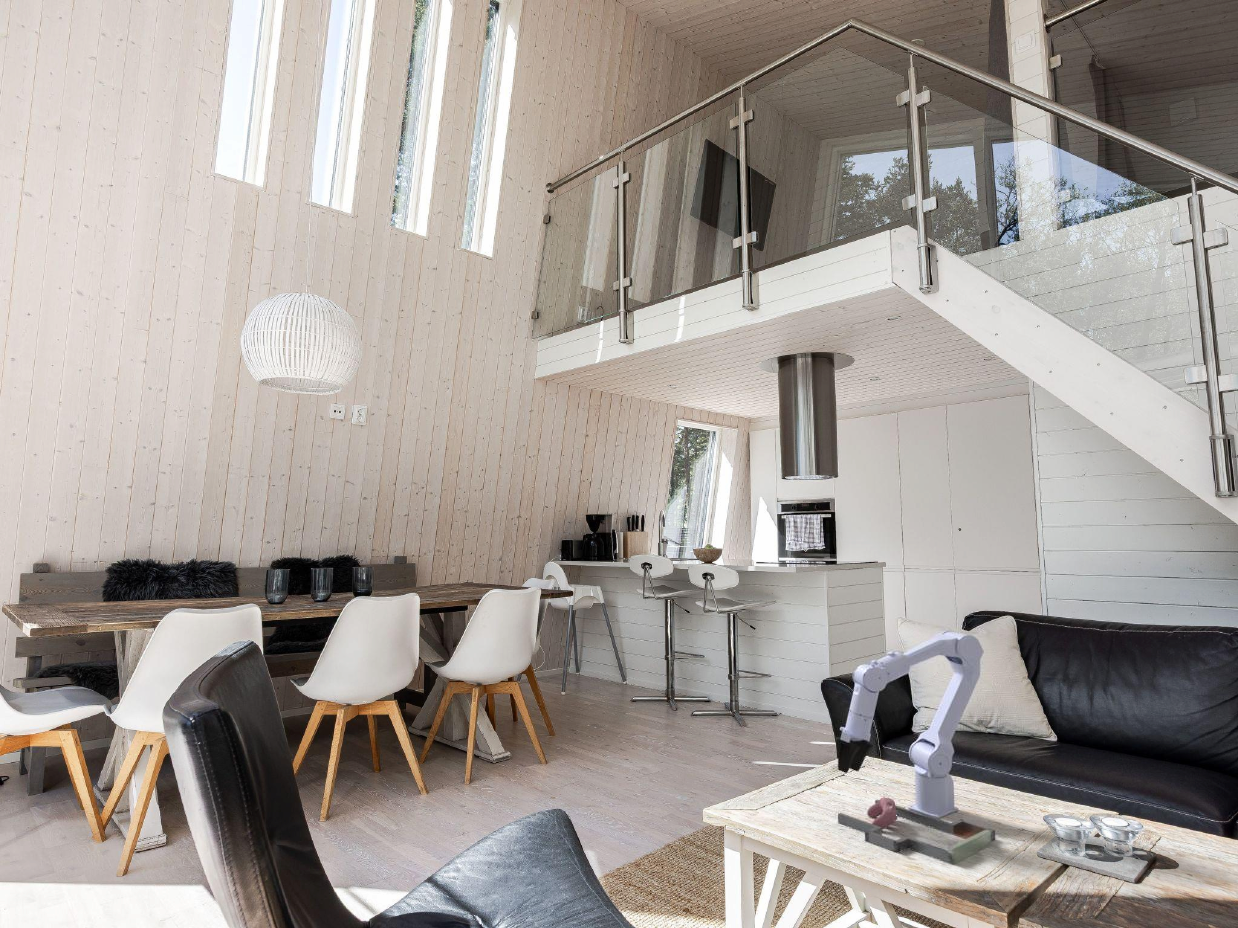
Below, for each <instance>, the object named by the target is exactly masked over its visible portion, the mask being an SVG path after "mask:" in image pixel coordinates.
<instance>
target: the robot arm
mask: <svg viewBox="0 0 1238 928" xmlns="http://www.w3.org/2000/svg"><path fill="white" fill-rule="evenodd" d="M886 654H887V655H886V656H884V657H882V658H879V659H878V660H876V659H873V660H871V661H870V664H861V665H859V666H857V668H856V669H855V670H854V671H853V672H852V681H853V682H854V687H853V692H852V696H851V701H850V705H849V711H848V714H847V719H846V723H845V727H844V726H840V728H839V730H840V731H841V736H840V737H835V744H836V750H837V770H838V771H840V772H842V773H845V774H848V772H849V770H853V771H855V772H859V771H860V769H861V767H862V765H863V763H864V761H865V759H866V757H867V755H868V754H869V753H870V751H871V750H872V749H873V748H874V744H873V743H870V739H871V735H872V734H871V731H872V730H871V729H872V725H873V719H874V716H875V710H876V707H877V703H878V697H879V695H880V694H879V693H880V692H881V691H882V692H883V690H884V689H885V688H886V686H887V684H889V683H890V682H893V681H895V680H897V679H899V678H900V677H903V676H905V675H908V674H909V672H910V670H911V667H913V666H915V665H918V664H920V663H923V662H925V661H927V660H930V659H932V658H935V657H937V656H944V657H945V658H946V660H947V661H948V663H950V665H951V668H952V671H953V675H952V677H951V679H950V682H949V683H948V686H947V688H946V690H945V693H944V695H943V697H942V699H941V701H940V704H939V706H938V707H937V710H936V713H935V714H934V717H933V719H932V721H931V724H930V726H929V728H927V730H925V731H922V732H921V733H920V734H919V735H918V738H917V739H916V741H915V740H914V742H912V744H911V745H910V747H909V750H908V756H909V759H910V761H911V762H912V764H913V767H914V768H913V769H914V787H915V788H914V789H915V790H914V791H915V792H914V793H915V795H914V796H915V803H914V804H912V805H909V806H907V807H908V809H909V810H912V811H915V812H918V813H921V814H924V815H927V816H930V817H934V818H937V819H940V818H942V817H945V816H947V815H949V814H951V813H954V812H956V811H958V810H959V808H958V807H956V806H955V788H954V787H955V785H954V780H953V777H952V776H951V774H950V771H951V770H952V765H953V756H954V754H955V749H954V746H953V743H952V739H953V737H954V735H955V732H956V731H957V728H958V726H959V724H960V721H961V720H962V717H963V715H964V712H965V710H966V708H967V706H968V704H969V701H970V699H971V698H972V695H973V693H974V690H975V688H976V685H977V684H978V681H979V680H980V676H981V658H982V657H983V654H984V649H983V647H982V645H981V643H980V641H979V639H978V638H977V637H975V635H971V634H965V633H960V632H956V631H953V630H950V629H949V630H944V631H942V632H941V633H937V634H935V635H934V636H932V638H930V639H928V640H926V641H924V642H923V643H921V644H919V645H917V646H915V647H913V648H911V649H910V650H908V651H906V652H904V653H901V652H899V651H892V650H891V651H889V652H887V653H886Z"/></svg>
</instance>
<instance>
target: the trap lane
mask: <svg viewBox="0 0 1238 928" xmlns="http://www.w3.org/2000/svg"><path fill="white" fill-rule="evenodd" d="M879 800H880V799H875V800H874V802H875V803H874V804H876V803H877V802H878V801H879ZM895 807H896V808H895V809H896V810H897V816H898V817H899V818H901V817H902V819H904V818H906V819H905V820H908V821H910V820H911V821H912V822H914V821H915V822H914V823H917V824H920V823H921V824H920V825H923V824H924V825H923V826H926V827H929V826H930V827H929V828H932V827H933V829H935V830H938V831H941V830H942V832H944V833H947V832H948V833H947V834H950V833H951V835H953V836H955V837H956V836H957V837H959V838H962V839H963V840H960V841H959V842H957V843H955V844H952V845H950V846H948V847H947V849H945V848H942V847H938V846H936V845H933V844H930V843H927V842H925V841H922V840H919V839H916V838H913V837H910V836H908V835H906V836H903V837H900V838H899V839H893V838H890V837H887V836H885V835H883V830H882V827H879V826H876V825H873V824H872V822H867V821H866V820H865V821H864V820H861V819H859V818H856V817H854V816H850V815H849V814H844V813H842V812H839V813H837V823H838V824H840V825H843V826H846V827H848V826H849V828H851V827H852V828H851V829H854V830H857V831H859V830H860V831H859V832H862V833H864V841H865V842H868V843H870V844H872V843H873V844H872V845H875V844H876V845H875V846H878V847H880V846H882V847H881V848H883V847H885V848H884V849H886V848H887V849H886V850H889V849H890V850H889V851H891V850H894V851H896V852H895V853H897V852H899V853H901V852H902V851H901V850H903V851H905V850H904V849H906V850H907V848H908V849H909V848H910V849H909V850H912V849H913V850H912V851H914V850H916V851H915V852H918V853H920V852H921V854H923V853H924V854H923V855H925V854H926V856H928V855H929V856H928V857H931V856H933V857H932V858H934V859H936V858H937V860H939V859H940V860H939V861H942V862H946V863H948V864H950V863H951V864H950V865H954V864H956V863H958V862H960V861H962V860H965V859H967V858H968V857H970V856H973V855H974V854H976V853H979V852H981V851H983V850H984V849H986V848H989V847H991V846H992V842H993V841H995V840H996V830H995V829H994V828H990V827H987V826H984V825H980V824H977V823H973V822H970V821H968V820H964V819H962V818H959V819H957V820H955V821H953V822H949V821H946V820H942V819H940V818H935V817H932V816H929V815H926V814H923V813H920V812H917V811H913V810H910V809H907V808H905V807H902V806H899V805H896V804H895ZM894 851H893V852H894ZM900 851H901V852H900Z"/></svg>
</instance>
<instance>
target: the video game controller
mask: <svg viewBox="0 0 1238 928" xmlns="http://www.w3.org/2000/svg"><path fill="white" fill-rule="evenodd" d="M878 800H879V801H878V802H877V803H876V804H875V803H874V804H872V805H871V806H870V807H868V809H867V813H866V814H867V816H868V817H869V818H875V819H874V820H873V821H872V822H871V824H873V825H876V826H879V827H882V831H883V830H885V829H887V828H888V827H889V826H890V825H892V824H893V823H894V822H896V821H897V820H898V816H896V815H897V810H896V809H895V808H896V807H895V805H896V803H895V801H894V800H893V799H892V798H890V797H886V796H885V795H883V797H881V798H879V799H878ZM886 827H887V828H886Z"/></svg>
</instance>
